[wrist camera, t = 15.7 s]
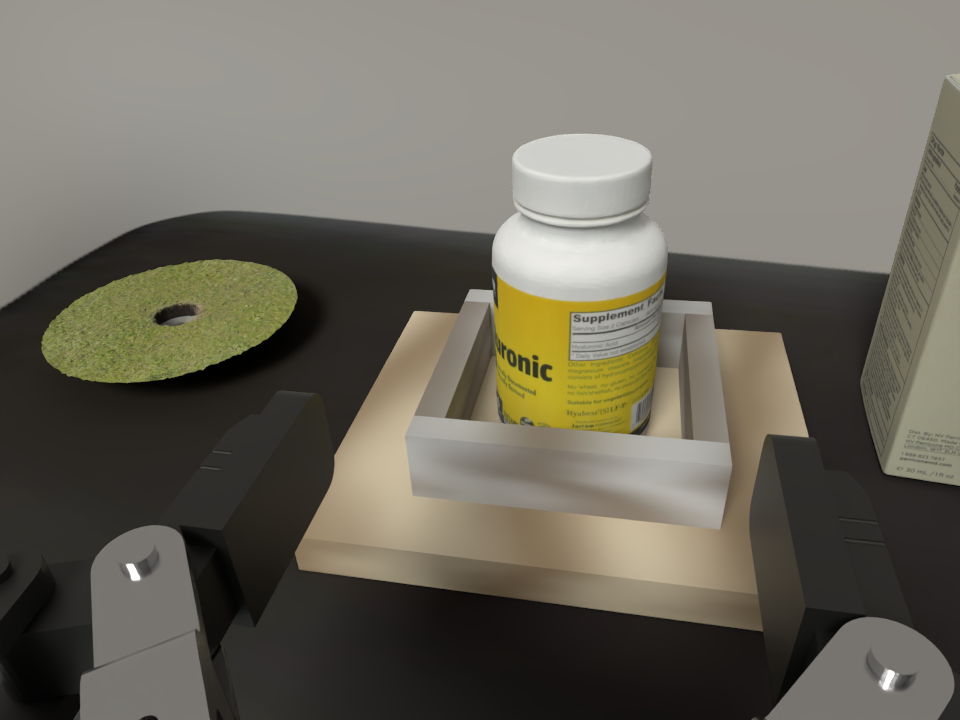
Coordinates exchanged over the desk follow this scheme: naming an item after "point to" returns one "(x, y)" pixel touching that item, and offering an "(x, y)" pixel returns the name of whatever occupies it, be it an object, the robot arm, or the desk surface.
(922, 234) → the skincare box
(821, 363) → the desk surface
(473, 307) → the socket board
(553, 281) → the supplement bottle
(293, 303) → the green disc with hole
